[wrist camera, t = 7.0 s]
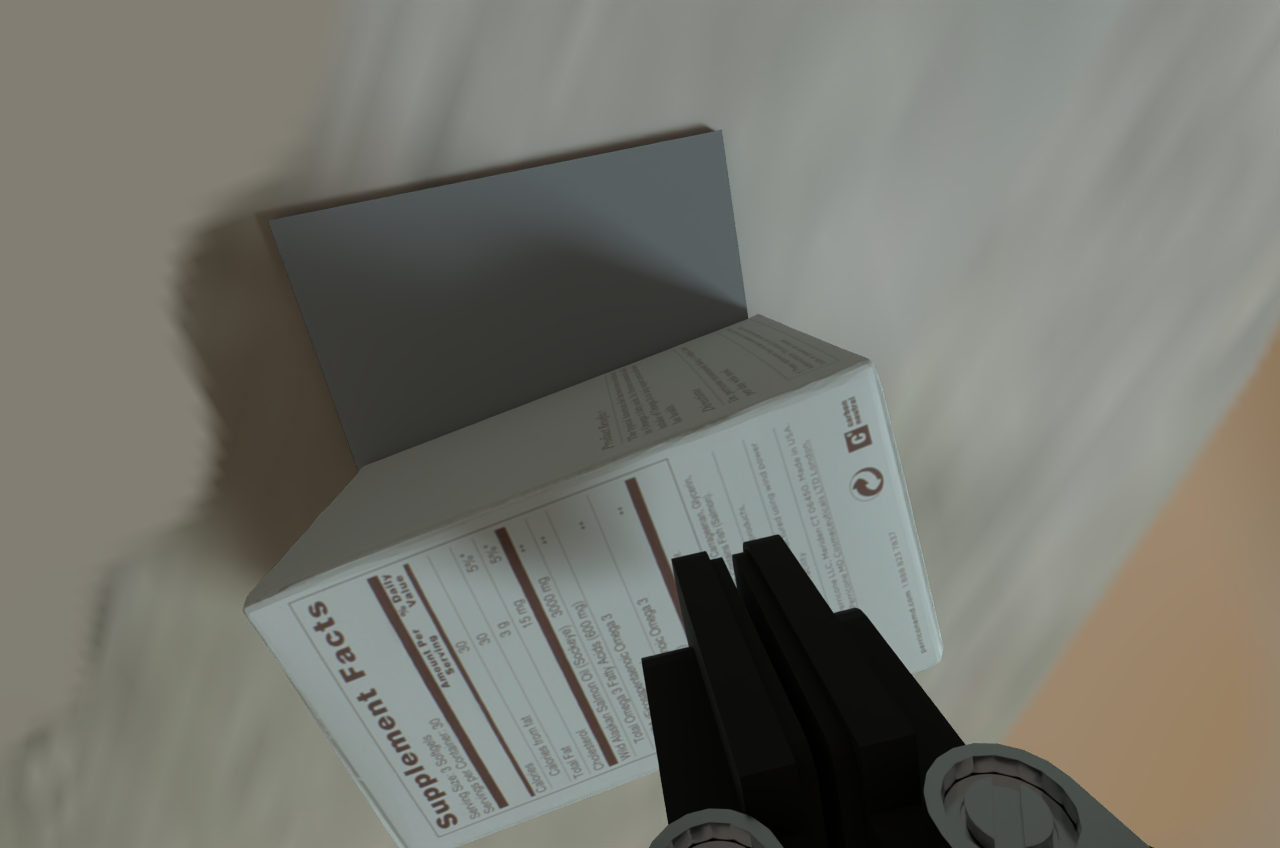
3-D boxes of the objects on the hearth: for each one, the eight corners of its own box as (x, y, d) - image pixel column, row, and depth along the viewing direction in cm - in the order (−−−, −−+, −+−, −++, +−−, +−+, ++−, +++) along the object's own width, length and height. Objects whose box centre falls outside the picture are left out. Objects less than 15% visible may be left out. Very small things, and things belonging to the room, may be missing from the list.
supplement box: (825, 521, 21) (462, 656, 21) (762, 305, 18) (353, 459, 18) (957, 674, 14) (407, 879, 14) (883, 355, 11) (219, 605, 11)
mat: (718, 132, 17) (721, 129, 17) (794, 670, 23) (798, 678, 22) (274, 220, 17) (267, 220, 16) (464, 751, 22) (462, 760, 22)
